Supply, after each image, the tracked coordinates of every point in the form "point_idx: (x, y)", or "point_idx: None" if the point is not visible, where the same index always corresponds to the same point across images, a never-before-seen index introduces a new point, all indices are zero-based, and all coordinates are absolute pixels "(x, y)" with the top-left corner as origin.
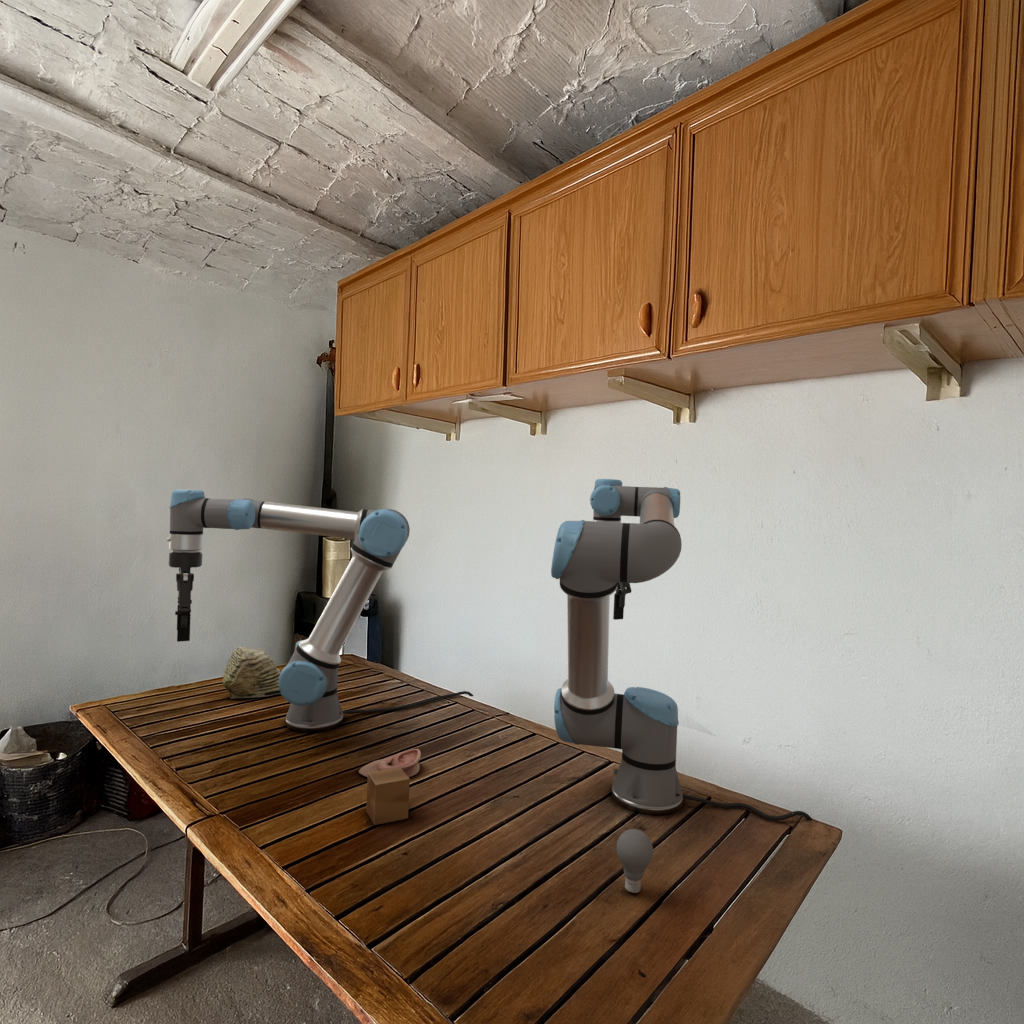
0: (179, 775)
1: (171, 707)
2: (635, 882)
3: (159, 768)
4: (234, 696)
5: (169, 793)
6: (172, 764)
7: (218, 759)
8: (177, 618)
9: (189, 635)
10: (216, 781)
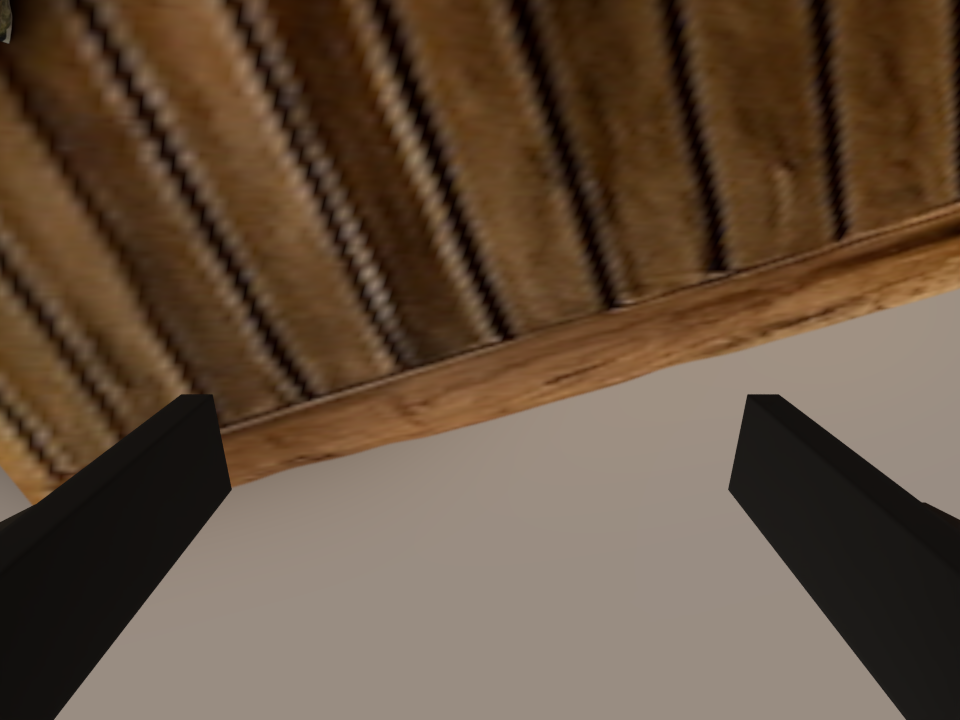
0: (768, 262)
1: (107, 284)
2: None
3: (685, 314)
4: (4, 19)
5: (875, 288)
6: (673, 281)
7: (704, 142)
8: (163, 575)
9: (810, 422)
10: (877, 159)
